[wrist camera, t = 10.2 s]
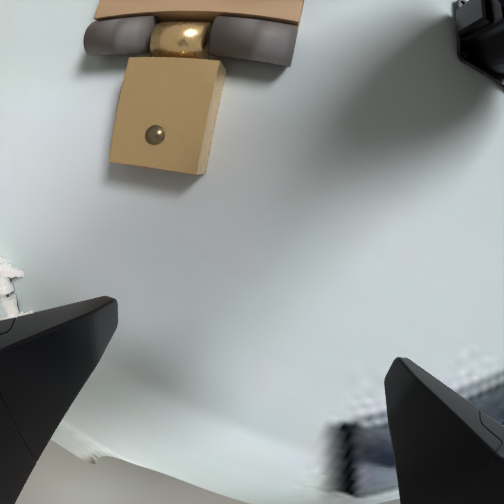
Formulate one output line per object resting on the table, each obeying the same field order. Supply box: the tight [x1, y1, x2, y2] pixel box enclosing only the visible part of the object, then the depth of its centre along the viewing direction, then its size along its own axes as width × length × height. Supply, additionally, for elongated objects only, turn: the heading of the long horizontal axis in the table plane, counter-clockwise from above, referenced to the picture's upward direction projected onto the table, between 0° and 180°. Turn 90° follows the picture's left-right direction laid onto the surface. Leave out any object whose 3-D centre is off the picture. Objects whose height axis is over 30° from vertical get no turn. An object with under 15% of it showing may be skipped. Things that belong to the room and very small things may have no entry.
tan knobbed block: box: [109, 22, 227, 175], centre depth 16 cm, size 10×6×3 cm, turn 169°
